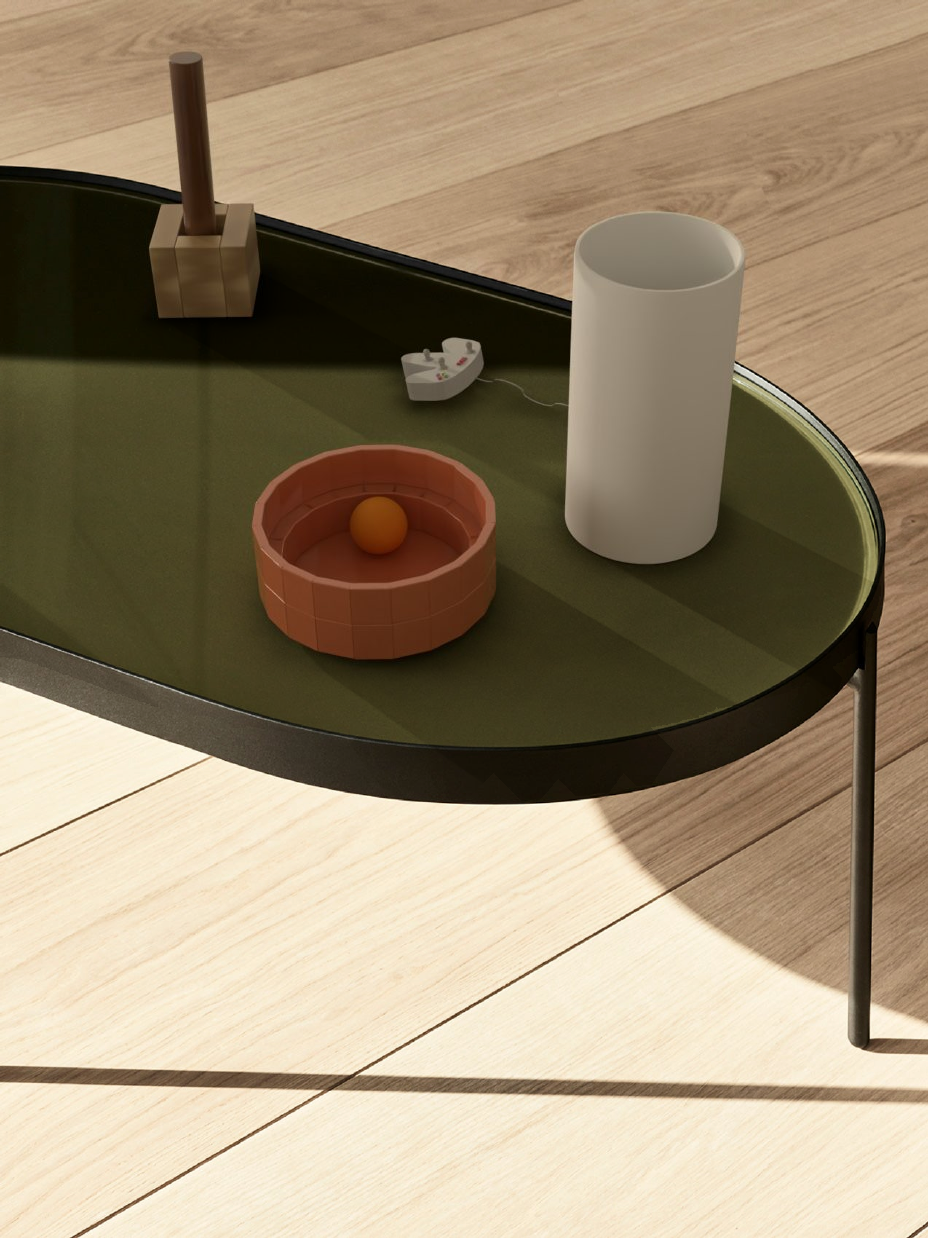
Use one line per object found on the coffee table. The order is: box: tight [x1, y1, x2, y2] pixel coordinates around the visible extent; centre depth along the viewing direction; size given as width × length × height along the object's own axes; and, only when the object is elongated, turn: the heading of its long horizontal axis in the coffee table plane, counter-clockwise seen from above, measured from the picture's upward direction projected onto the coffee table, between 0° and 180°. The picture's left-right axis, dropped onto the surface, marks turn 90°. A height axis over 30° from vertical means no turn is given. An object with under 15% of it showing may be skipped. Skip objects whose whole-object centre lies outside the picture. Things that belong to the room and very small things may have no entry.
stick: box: [168, 50, 217, 236], centre depth 105 cm, size 2×2×16 cm
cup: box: [564, 210, 746, 565], centre depth 86 cm, size 8×8×16 cm
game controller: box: [400, 337, 569, 408], centre depth 100 cm, size 6×12×3 cm, turn 81°
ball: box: [350, 497, 408, 554], centre depth 87 cm, size 3×3×3 cm
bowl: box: [251, 444, 497, 660], centre depth 85 cm, size 12×12×5 cm
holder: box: [148, 202, 261, 319], centre depth 108 cm, size 6×6×5 cm
